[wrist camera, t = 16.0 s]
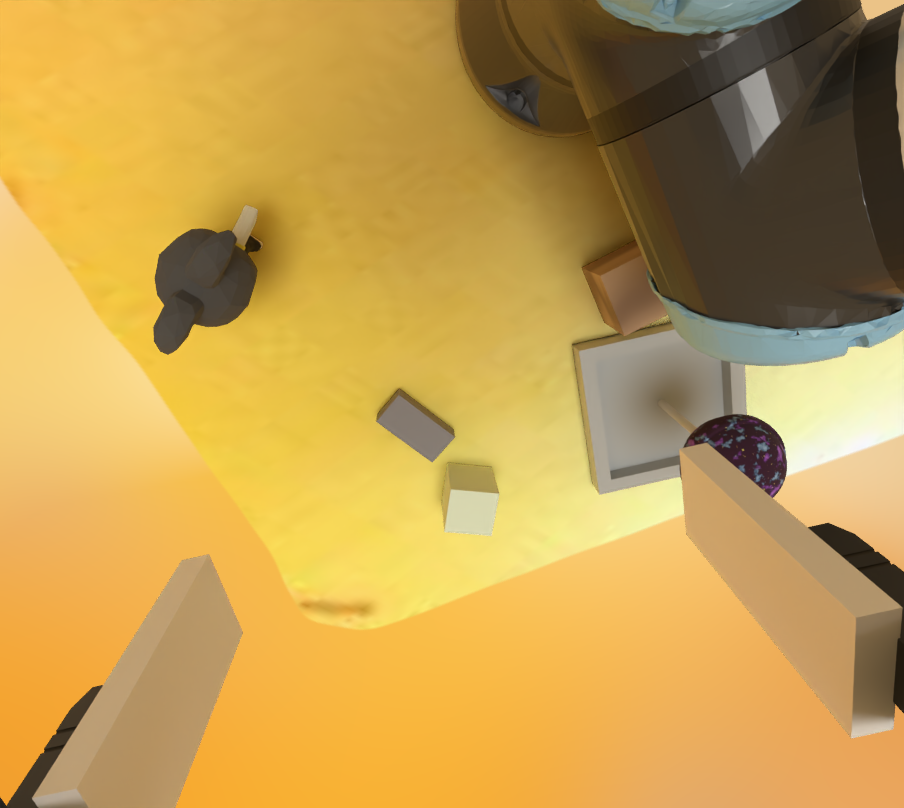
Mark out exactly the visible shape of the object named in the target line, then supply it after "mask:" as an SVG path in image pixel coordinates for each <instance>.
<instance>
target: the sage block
mask: <svg viewBox="0 0 904 808" xmlns="http://www.w3.org/2000/svg"><path fill="white" fill-rule="evenodd" d="M498 498H499V491H498V488H497V484H496V481H495V477H494V474H493V470H492V467H488V466H478V465H467V464H457V463H447V468H446V475H445V482H444V489H443V495H442V512H443V523H444V532H451V533H463V534H475V535H487V536H492V531H493V525H494V520H495V515H496V509H497V504H498Z"/></svg>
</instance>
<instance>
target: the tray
mask: <svg viewBox="0 0 904 808" xmlns="http://www.w3.org/2000/svg"><path fill="white" fill-rule="evenodd" d="M572 347H573V354H574V361H575V367H576V374H577V381H578V388H579V395H580V402H581V408H582V415H583V422H584V429H585V436H586V443H587V449H588V456H589V463H590V470H591V477H592V483H593V485H594V487H595V488H596V490H597V491H598V493H599V495H600V494H604V493H609V492H613V491H618V490H622V489H627V488H631V487H636V486H640V485H645V484H649V483H654V482H658V481H663V480H667V479H671V478H676V477H680V453H679V449H681V448H683V447H684V444H685V442H686V440H687V439H688V437H689V436H690V435H691V433H689V432H688V431H687V430H686V429H685V428H684V427H683V426H681V425H680V424H679V423H678V422H677V421H676V420H675V419H673V418H672V417H671V416H670V415H669V414H668V413H667V412H665V411H664V410H663V409H662V408H661V407H660V406H659V405H658V402H659V400H664V401H666V402H667V403H668V404H669V405H670V406H672V407H673V408H674V409H675V410H676V411H678V412H679V413H680V414H681V415H682V416H684V417H685V418H686V419H687V420H688V421H690V422H691V423H692V424H693V425H694V426H696V427H697V428H698V427H699V426H700V425H702V424H703V423H705V422H707V421H709V420H712V419H715V418H718V417H722V416H726V415H731V414H743V415H747V410H746V384H745V365H744V364H737V363H731V362H727V361H722V360H719V359H716V358H713V357H710V356H708V355H706V354H703V353H701V352H699V351H697V350H696V349H695V348H693V347H691V346H690V345H689V344H688V343H687V342H686V341H685V340H684V339H683V338H682V337H680V335H679V334H678V333H677V332H676V330H675V328H674V326H673V324H672V322H670V323H666V324H661V325H657V326H652V327H648V328H644V329H639V330H636V331H634V332H632V333H630V334H628V335H626V336H624V335H622V334H617V335H613V336H608V337H604V338H599V339H595V340H591V341H586V342H582V343H577V344H573V345H572Z"/></svg>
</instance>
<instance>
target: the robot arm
mask: <svg viewBox="0 0 904 808" xmlns="http://www.w3.org/2000/svg"><path fill="white" fill-rule="evenodd" d="M456 32H457V39H458V45H459V49H460V53H461V57H462V60H463V63H464V66H465V68H466V71H467V73H468V75H469V77H470V79H471V81H472V83H473V85H474V87H475V88H476V90H477V91H478V93H479V94H480V96H481V97H482V98H483V100H484V101H485V102H486V103H487V104H488V105H489V106H490V107H491V109H492V110H493V111H495V112H496V113H497V114H498V115H499V116H500V117H502V118H503V119H504V120H506V121H507V122H509V123H510V124H512V125H514V126H516V127H518V128H520V129H522V130H524V131H527V132H530V133H533V134H537V135H541V136H548V137H568V136H575V135H580V134H583V133H587V132H590V131H592V133H593V135H594V138H595V140H596V142H597V147H598V150H599V152H600V154H601V157H602V159H603V162H604V164H605V166H606V169H607V171H608V174H609V176H610V179H611V181H612V183H613V186H614V188H615V191H616V193H617V196H618V198H619V200H620V203H621V205H622V208H623V210H624V213H625V215H626V217H627V220H628V222H629V225H630V227H631V229H632V232H633V234H634V237H635V239H636V242H637V244H638V246H639V249H640V251H641V254H642V256H643V259H644V261H645V263H646V266H647V268H648V269H647V272H646V274H647V278H648V281H649V284H650V287H651V289H652V291H653V292H654V293H655V294H656V295H657V297H658V298H659V299H660V301H662V303H663V305H664V307H665V309H666V312H667V314H668V316H669V318H670V320H671V322H672V324H673V326H674V328H675V330H676V332H677V333H678V334H679V335H680V337H682V338H683V339H684V340H685V341H686V342H687V343H688V344H689V345H690V346H691V347H693V348H695V349H696V350H697V351H699V352H701V353H703V354H706V355H708V356H710V357H713V358H716V359H719V360H722V361H727V362H731V363H737V364H744V365H756V366H786V365H797V364H806V363H812V362H818V361H824V360H828V359H832V358H837V357H841V356H844V355H845V354H846V353H847V350H848V347H854V346H858V347H868V348H869V347H872V346H874V345H877V344H879V343H881V342H883V341H885V340H887V339H889V338H891V337H893V336H895V335H896V334H898V333H900V332H901V331H903V330H904V4H903V5H901V6H899V7H897V8H894V9H892V10H890V11H888V12H886V13H884V14H882V15H880V16H878V17H875V18H874V19H870V20H867V19H866V17H865V15H864V13H863V10H862V7H861V1H860V0H456ZM679 453H680V465H681V477H682V489H683V501H684V513H685V525H686V534H687V536H688V537H689V538H690V539H691V540H692V542H693V543H694V544H695V545H696V546H697V548H698V549H699V550H700V552H701V553H702V554H703V555H704V557H705V558H706V559H707V560H708V562H709V563H710V564H711V565H712V566H713V568H714V569H715V570H716V571H717V573H718V574H719V575H720V576H721V578H722V579H723V580H724V581H725V583H726V584H727V585H728V586H729V588H730V589H731V590H732V591H733V592H734V594H735V595H736V596H737V597H738V599H739V600H740V601H741V602H742V604H743V605H744V606H745V607H746V609H747V610H748V611H749V612H750V614H751V615H752V616H753V617H754V619H755V620H756V621H757V622H758V623H759V625H760V626H761V627H762V628H763V630H764V631H765V632H766V633H767V635H768V636H769V637H770V638H771V640H772V641H773V642H774V643H775V645H776V646H777V647H778V648H779V650H780V651H781V652H782V653H783V654H784V656H785V657H786V658H787V659H788V660H789V662H790V663H791V664H792V665H793V667H794V668H795V669H796V671H797V672H798V673H799V674H800V675H801V677H802V678H803V679H804V680H805V682H806V683H807V684H808V685H809V687H810V688H811V689H812V690H813V691H814V693H815V694H816V695H817V697H818V698H819V699H820V700H821V701H822V703H823V704H824V705H825V706H826V708H827V709H828V710H829V711H830V713H831V714H832V715H833V716H834V718H835V719H836V720H837V721H838V723H839V724H840V725H841V726H842V728H843V729H844V730H845V731H846V732H847V734H848V735H849V736H850V737H851V738H855V737H859V736H864V735H869V734H874V733H878V732H883V731H887V730H892V729H893V727H894V713H895V704H896V705H897V706H898V707H899V709H900V710H901V711H902V712H903V713H904V572H903V571H902V570H901V569H899V568H898V567H897V566H896V565H894V564H892V565H891V563H890V561H889V560H888V559H886V558H885V557H884V556H882V555H881V554H880V553H879V552H875V551H874V549H873V548H872V547H871V546H869V545H868V544H867V543H866V542H864V541H863V540H862V539H860V538H859V537H858V536H856V535H855V534H853V533H851V532H849V531H846V530H844V529H841V528H839V527H837V526H834V525H832V524H829V523H825V524H821V525H816V526H812V527H806V526H805V525H804V524H803V523H802V522H800V521H799V520H798V519H797V518H796V517H794V516H793V515H792V514H791V513H790V512H789V511H787V510H786V509H785V508H784V507H783V506H781V505H780V504H779V503H778V502H777V501H775V500H774V499H773V498H772V497H771V496H770V495H768V494H767V493H766V492H765V491H764V490H762V489H761V488H760V487H759V486H758V485H756V484H755V483H754V482H753V481H752V480H751V479H749V478H748V477H747V476H746V475H745V474H743V473H742V472H741V471H740V470H739V469H737V468H736V467H735V466H734V465H733V464H732V463H730V462H729V461H728V460H727V459H726V458H724V457H723V456H722V455H721V454H720V453H718V452H717V451H716V450H715V449H714V448H713V447H711V446H710V445H709V444H708V443H704V444H699V445H695V446H690V447H686V448H681V449H679ZM242 634H243V632H242V629H241V627H240V625H239V622H238V620H237V618H236V616H235V613H234V611H233V609H232V606H231V604H230V602H229V599H228V597H227V595H226V592H225V590H224V588H223V585H222V583H221V581H220V579H219V576H218V574H217V572H216V569H215V567H214V565H213V562H212V560H211V558H210V556H209V555H203V556H199V557H195V558H190V559H186V560H182V561H181V563H180V564H179V566H178V567H177V569H176V570H175V572H174V574H173V575H172V577H171V578H170V580H169V582H168V583H167V585H166V586H165V588H164V589H163V591H162V593H161V594H160V596H159V597H158V599H157V601H156V602H155V604H154V605H153V607H152V609H151V610H150V612H149V613H148V615H147V616H146V618H145V620H144V621H143V623H142V624H141V626H140V628H139V629H138V631H137V632H136V634H135V636H134V637H133V639H132V640H131V642H130V643H129V645H128V647H127V648H126V650H125V651H124V653H123V655H122V656H121V658H120V660H119V661H118V663H117V664H116V666H115V667H114V669H113V670H112V672H111V674H110V675H109V677H108V678H107V680H106V682H105V683H104V685H101V686H97V687H93V688H91V689H90V690H89V691H88V693H86V694H85V695H84V696H83V697H82V698H81V699H80V700H79V701H78V702H77V703H76V704H75V705H74V706H73V707H72V708H71V709H70V711H69V712H68V714H67V715H66V717H65V718H64V720H63V721H62V723H61V724H60V726H59V728H58V729H57V730H56V731H57V733H56V735H53V736H52V738H51V740H50V741H49V742H48V744H47V745H46V747H45V748H44V750H45V751H44V753H42V754H40V756H39V758H38V759H37V761H36V762H35V764H34V765H33V767H32V768H31V770H30V771H29V773H28V774H27V776H26V777H25V779H24V780H23V782H22V783H21V785H20V786H19V788H18V789H17V791H16V792H15V794H14V795H13V797H12V798H11V800H10V801H9V803H8V804H7V806H6V805H5V803H4V802H3V801H2V799H1V798H0V808H175V807H176V804H177V802H178V799H179V797H180V794H181V791H182V789H183V786H184V784H185V781H186V778H187V776H188V773H189V771H190V768H191V765H192V763H193V760H194V758H195V755H196V753H197V750H198V747H199V745H200V742H201V740H202V737H203V734H204V731H205V729H206V727H207V724H208V721H209V719H210V716H211V714H212V711H213V709H214V706H215V703H216V701H217V698H218V696H219V693H220V690H221V688H222V685H223V683H224V680H225V677H226V675H227V672H228V670H229V667H230V664H231V662H232V659H233V657H234V654H235V651H236V649H237V646H238V644H239V641H240V639H241V636H242Z"/></svg>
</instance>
